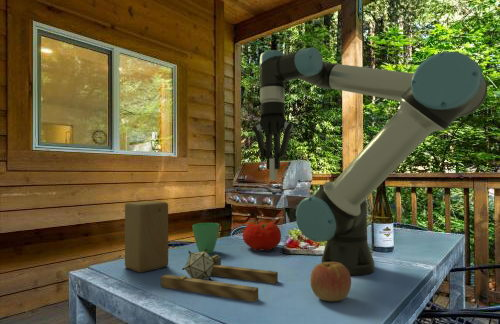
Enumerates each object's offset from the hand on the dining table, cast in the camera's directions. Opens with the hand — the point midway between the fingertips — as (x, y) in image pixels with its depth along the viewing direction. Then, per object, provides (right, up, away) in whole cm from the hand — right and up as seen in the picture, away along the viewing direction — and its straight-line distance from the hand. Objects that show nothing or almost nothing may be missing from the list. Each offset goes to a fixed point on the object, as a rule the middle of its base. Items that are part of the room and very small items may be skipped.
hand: (273, 180), depth 99 cm
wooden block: (-39, -27, +2) cm, 48 cm away
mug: (-24, -28, +22) cm, 43 cm away
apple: (+11, -26, -26) cm, 38 cm away
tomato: (-2, -28, +24) cm, 37 cm away
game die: (-21, -26, -12) cm, 36 cm away
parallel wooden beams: (-14, -26, -14) cm, 33 cm away
